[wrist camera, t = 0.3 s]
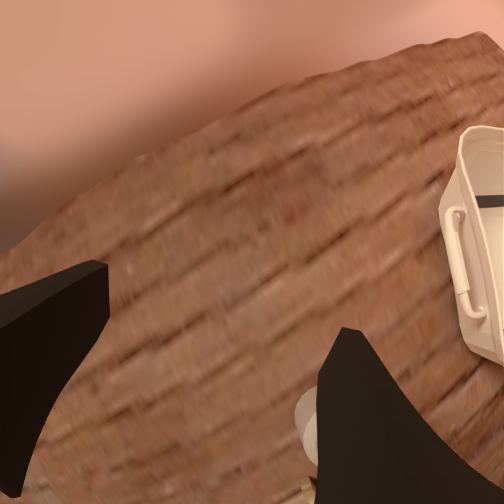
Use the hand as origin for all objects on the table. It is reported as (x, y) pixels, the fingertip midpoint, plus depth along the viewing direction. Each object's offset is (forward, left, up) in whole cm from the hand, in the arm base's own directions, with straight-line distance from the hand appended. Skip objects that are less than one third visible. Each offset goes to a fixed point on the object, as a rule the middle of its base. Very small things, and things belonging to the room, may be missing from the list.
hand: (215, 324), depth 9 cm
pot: (+11, -35, -29) cm, 47 cm away
